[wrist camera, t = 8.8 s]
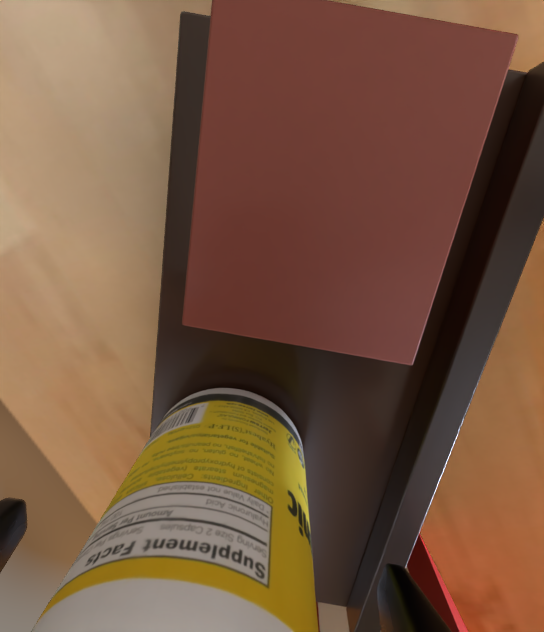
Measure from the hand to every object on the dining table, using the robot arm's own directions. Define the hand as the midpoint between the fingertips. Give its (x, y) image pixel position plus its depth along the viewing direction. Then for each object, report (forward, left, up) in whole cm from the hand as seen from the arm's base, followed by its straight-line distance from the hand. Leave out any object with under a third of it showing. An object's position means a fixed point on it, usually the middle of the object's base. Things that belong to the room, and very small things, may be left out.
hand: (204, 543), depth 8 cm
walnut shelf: (-2, -2, -9) cm, 10 cm away
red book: (-1, -8, -4) cm, 9 cm away
